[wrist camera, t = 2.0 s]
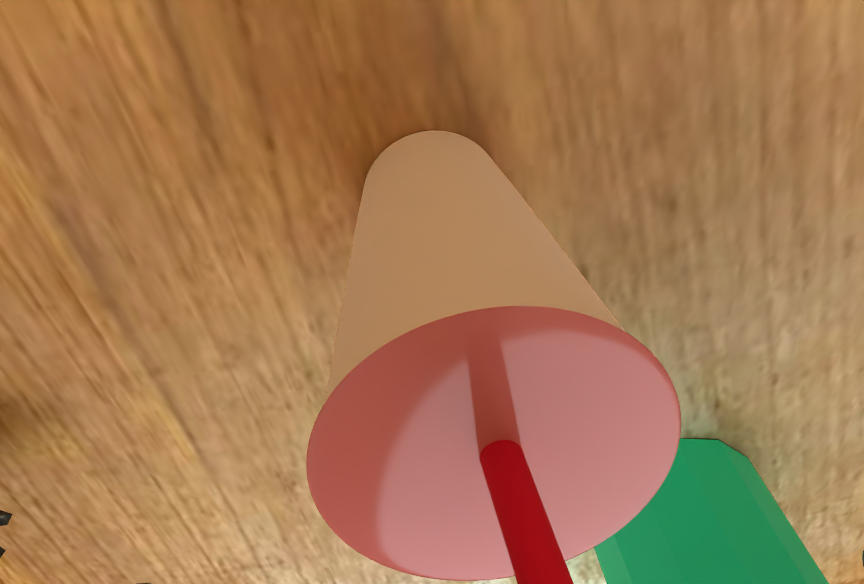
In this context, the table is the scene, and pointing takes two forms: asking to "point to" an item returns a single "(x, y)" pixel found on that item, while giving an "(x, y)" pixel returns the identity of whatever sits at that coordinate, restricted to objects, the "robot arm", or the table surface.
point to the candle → (708, 528)
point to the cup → (479, 384)
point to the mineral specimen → (3, 518)
